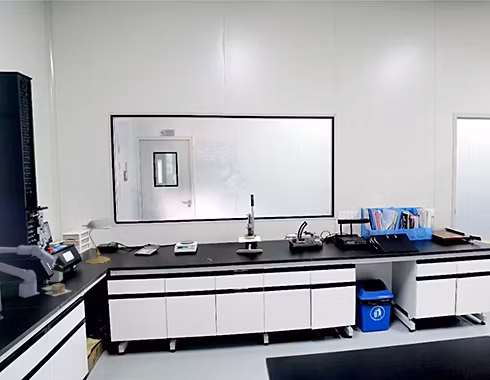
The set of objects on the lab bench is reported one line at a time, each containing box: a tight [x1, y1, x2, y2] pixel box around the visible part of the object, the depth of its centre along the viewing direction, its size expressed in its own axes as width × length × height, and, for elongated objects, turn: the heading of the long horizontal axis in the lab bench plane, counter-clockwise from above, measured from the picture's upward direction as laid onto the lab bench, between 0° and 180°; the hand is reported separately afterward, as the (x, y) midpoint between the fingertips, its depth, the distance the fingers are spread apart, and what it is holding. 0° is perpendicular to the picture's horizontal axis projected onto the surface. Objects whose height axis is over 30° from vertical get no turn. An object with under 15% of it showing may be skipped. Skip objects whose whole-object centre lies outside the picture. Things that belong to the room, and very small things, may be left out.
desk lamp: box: [82, 217, 117, 265], centre depth 318 cm, size 31×23×40 cm
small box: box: [49, 264, 64, 283], centre depth 256 cm, size 8×6×13 cm
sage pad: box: [41, 285, 52, 292], centre depth 239 cm, size 8×8×1 cm
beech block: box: [51, 282, 66, 294], centre depth 230 cm, size 5×7×5 cm
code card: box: [44, 288, 72, 297], centre depth 230 cm, size 12×12×1 cm
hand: (63, 268), depth 238 cm, fingers open, 7 cm apart
